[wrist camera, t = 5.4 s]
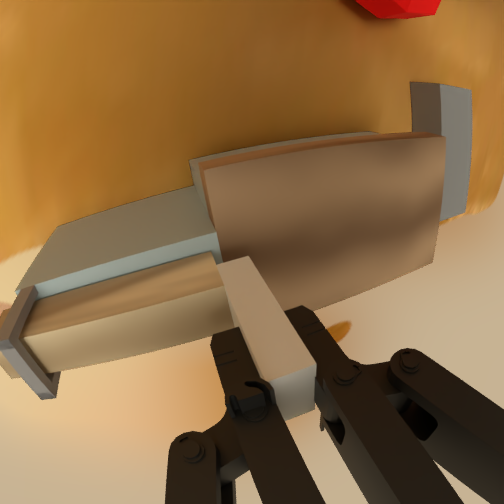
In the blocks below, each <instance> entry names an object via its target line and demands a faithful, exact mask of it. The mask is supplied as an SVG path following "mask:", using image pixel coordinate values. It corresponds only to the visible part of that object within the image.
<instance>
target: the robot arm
mask: <svg viewBox="0 0 504 504" xmlns="http://www.w3.org/2000/svg"><path fill="white" fill-rule="evenodd" d="M216 266H217V269H218V271H219V274H220V276H221V279H222V281H223V284H224V286H225V291H226V295H227V299H228V303H229V307H230V311H231V315H232V319H233V323H234V326H235V328H232V329H229V330H226V331H222V332H219V333H215V334H213V336H212V340H211V344H210V346H211V350H212V353H213V357H214V360H215V364H216V367H217V370H218V374H219V377H220V380H221V384H222V387H223V390H224V393H225V405H226V407H227V410H226V412H225V415H224V417H223V418H222V419H221V420H220V421H219V422H218V423H217V424H215V425H214V426H213V427H211V428H209V429H208V430H206V431H204V432H203V433H201V432H195V431H191V432H186V433H183V434H181V435H179V436H178V437H176V438H175V440H174V441H173V442H172V443H171V446H170V449H169V455H168V466H167V479H166V494H165V504H236V488H235V479H236V478H238V477H239V476H241V475H242V474H244V473H245V472H247V471H248V470H250V472H251V475H252V478H253V480H254V483H255V485H256V488H257V490H258V493H259V496H260V498H261V501H262V503H263V504H326V503H325V501H324V500H323V498H322V496H321V494H320V492H319V490H318V488H317V486H316V484H315V482H314V480H313V478H312V476H311V474H310V472H309V470H308V468H307V466H306V464H305V462H304V460H303V458H302V456H301V454H300V452H299V450H298V448H297V446H296V444H295V442H294V440H293V438H292V436H291V434H290V431H289V429H288V427H287V425H286V423H285V421H286V420H289V419H292V418H294V417H297V416H299V415H302V414H305V413H307V412H310V411H312V410H314V409H315V403H316V405H317V407H318V408H319V410H320V412H321V417H320V429H321V431H323V430H324V427H325V429H326V430H327V432H328V434H329V436H330V437H331V439H332V441H333V443H334V445H335V446H336V448H337V450H338V452H339V453H340V455H341V457H342V459H343V460H344V462H345V464H346V465H347V467H348V469H349V471H350V473H351V474H352V476H353V478H354V479H355V481H356V483H357V484H358V486H359V488H360V490H361V491H362V493H363V495H364V496H365V498H366V500H367V502H368V503H369V504H464V503H463V502H462V500H461V499H460V497H459V496H458V494H457V493H456V492H455V490H454V489H453V487H452V486H451V484H450V483H449V482H448V481H447V479H446V477H445V476H444V475H443V473H442V472H441V471H440V469H439V468H438V466H437V465H436V464H435V462H437V463H438V464H439V465H440V466H442V467H443V468H444V469H445V470H447V471H448V472H449V473H450V474H452V475H453V476H454V477H456V478H457V479H458V480H460V481H461V482H462V483H464V484H465V485H466V486H468V487H469V488H470V489H471V490H473V491H474V492H475V493H477V494H478V495H479V496H481V497H482V498H484V499H485V500H486V501H488V502H489V503H490V504H504V409H502V408H501V407H500V406H498V405H497V404H495V403H494V402H492V401H491V400H490V399H488V398H487V397H485V396H484V395H482V394H481V393H480V392H478V391H477V390H475V389H474V388H472V387H471V386H469V385H468V384H467V383H465V382H464V381H462V380H461V379H460V378H458V377H457V376H455V375H454V374H452V373H451V372H449V371H448V370H446V369H445V368H444V367H442V366H441V365H439V364H438V363H436V362H435V361H433V360H432V359H431V358H429V357H428V356H426V355H425V354H423V353H422V352H420V351H418V350H416V349H409V348H406V349H401V350H399V351H397V352H396V353H394V355H393V356H392V357H391V360H390V361H388V362H383V363H377V364H370V365H364V364H360V363H359V362H356V361H354V360H351V359H349V358H348V357H347V356H346V355H345V354H344V352H343V351H342V349H341V348H340V347H339V345H338V344H337V343H336V341H335V340H334V339H333V337H332V336H331V335H330V333H329V332H328V331H327V329H325V327H324V326H323V324H322V323H321V322H320V320H319V319H318V317H317V316H316V315H315V313H314V312H313V311H312V310H310V309H308V308H306V307H305V306H303V305H300V306H298V307H295V308H292V309H289V310H286V311H283V310H282V308H281V307H280V305H279V303H278V302H277V300H276V299H275V297H274V296H273V294H272V292H271V291H270V289H269V288H268V286H267V284H266V283H265V281H264V280H263V278H262V276H261V275H260V273H259V272H258V270H257V268H256V267H255V265H254V264H253V262H252V260H251V259H250V257H249V256H246V257H242V258H239V259H235V260H232V261H228V262H224V263H221V264H217V265H216ZM433 460H434V461H435V462H434V461H433Z"/></svg>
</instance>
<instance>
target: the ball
mask: <svg viewBox="0 0 504 504" xmlns="http://www.w3.org/2000/svg"><path fill="white" fill-rule="evenodd" d="M355 1H356V2H357V3H358V4H360V5H361V6H362V7H364V8H365V9H367V10H368V11H369V12H371V13H372V14H374V15H375V16H376V17H377V18H398V19H409V18H415V17H422V16H430V15H435V13H436V11H437V8H438V6H439V4H440V2H441V0H355Z"/></svg>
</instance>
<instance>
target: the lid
mask: <svg viewBox="0 0 504 504" xmlns="http://www.w3.org/2000/svg"><path fill="white" fill-rule="evenodd" d="M445 156H446V137H445V136H441V135H437V134H433V133H429V132H408V133H391V134H377V135H365V136H354V137H345V138H336V139H327V140H320V141H312V142H305V143H298V144H292V145H285V146H279V147H273V148H267V149H262V150H256V151H251V152H246V153H241V154H236V155H231V156H226V157H221V158H217V159H212V160H208V161H203V162H199V163H198V166H199V171H200V176H201V181H202V186H203V191H204V195H205V200H206V205H207V210H208V214H209V218H210V220H211V222H212V224H213V226H214V228H215V230H216V232H217V237H218V242H219V246H220V251H221V256H222V260H223V263H224V262H228V261H232V260H235V259H239V258H242V257H246V256H249V257H250V259H251V260H252V262H253V264H254V265H255V267H256V268H257V270H258V272H259V273H260V275H261V276H262V278H263V280H264V281H265V283H266V284H267V286H268V288H269V289H270V291H271V292H272V294H273V296H274V297H275V299H276V300H277V302H278V303H279V305H280V307H281V308H282V310H283V311H286V310H289V309H292V308H295V307H298V306H300V305H303V306H305V307H306V308H308V309H310V310H312V311H315V310H318V309H321V308H323V307H326V306H329V305H331V304H334V303H337V302H339V301H342V300H345V299H347V298H350V297H352V296H355V295H357V294H360V293H362V292H365V291H367V290H370V289H372V288H375V287H377V286H380V285H382V284H385V283H387V282H389V281H392V280H394V279H396V278H399V277H401V276H403V275H406V274H408V273H410V272H412V271H415V270H417V269H419V268H421V267H423V266H426V265H428V264H430V263H432V262H433V257H434V252H435V246H436V241H437V234H438V228H439V221H440V214H441V206H442V197H443V186H444V174H445Z"/></svg>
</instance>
